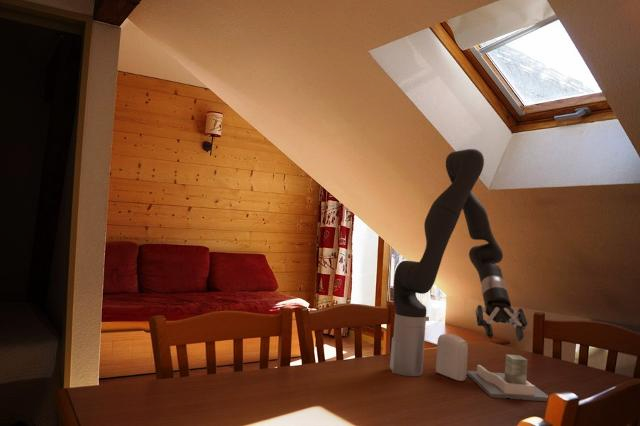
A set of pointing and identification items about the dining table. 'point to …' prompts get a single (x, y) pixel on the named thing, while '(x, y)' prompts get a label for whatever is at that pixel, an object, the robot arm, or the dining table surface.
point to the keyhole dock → (505, 386)
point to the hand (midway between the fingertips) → (505, 338)
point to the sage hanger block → (515, 369)
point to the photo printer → (452, 356)
